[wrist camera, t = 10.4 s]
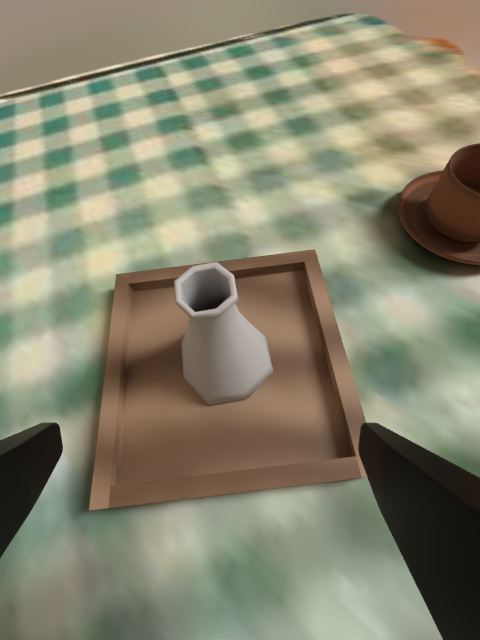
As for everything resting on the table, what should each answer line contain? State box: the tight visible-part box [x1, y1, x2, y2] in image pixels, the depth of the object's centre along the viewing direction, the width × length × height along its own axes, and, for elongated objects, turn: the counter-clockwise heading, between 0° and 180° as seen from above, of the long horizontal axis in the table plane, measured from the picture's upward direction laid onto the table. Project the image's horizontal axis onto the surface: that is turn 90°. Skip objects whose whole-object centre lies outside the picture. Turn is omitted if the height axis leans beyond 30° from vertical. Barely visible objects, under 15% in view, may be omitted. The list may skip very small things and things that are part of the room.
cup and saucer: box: [398, 144, 480, 265], centre depth 27 cm, size 12×12×6 cm
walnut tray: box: [89, 250, 367, 511], centre depth 23 cm, size 18×18×2 cm
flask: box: [174, 262, 273, 405], centre depth 19 cm, size 7×7×10 cm
